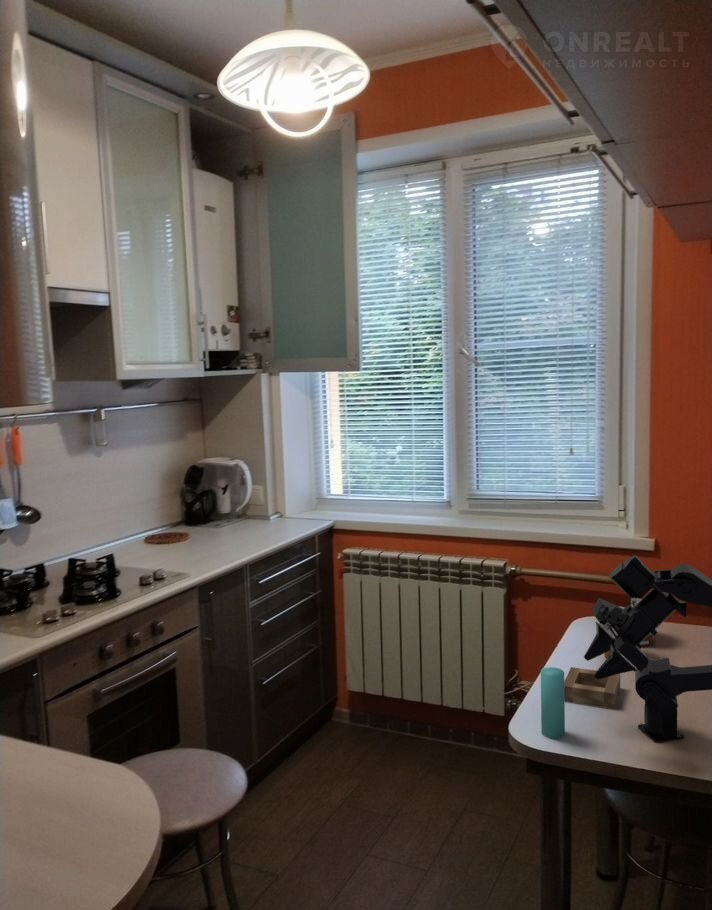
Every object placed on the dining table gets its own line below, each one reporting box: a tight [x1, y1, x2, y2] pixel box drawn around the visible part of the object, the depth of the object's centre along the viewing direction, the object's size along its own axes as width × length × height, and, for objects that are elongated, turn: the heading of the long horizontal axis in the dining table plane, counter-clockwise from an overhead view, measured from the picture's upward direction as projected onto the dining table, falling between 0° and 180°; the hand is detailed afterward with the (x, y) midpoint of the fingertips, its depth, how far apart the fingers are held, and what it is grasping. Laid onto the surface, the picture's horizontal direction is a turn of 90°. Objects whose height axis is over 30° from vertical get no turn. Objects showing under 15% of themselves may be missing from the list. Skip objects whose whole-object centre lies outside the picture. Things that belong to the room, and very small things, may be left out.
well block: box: [564, 666, 621, 710], centre depth 165 cm, size 11×11×4 cm
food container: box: [630, 597, 657, 648], centre depth 195 cm, size 12×6×10 cm, turn 168°
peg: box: [540, 666, 566, 740], centre depth 148 cm, size 5×5×13 cm
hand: (590, 668), depth 147 cm, fingers open, 9 cm apart
